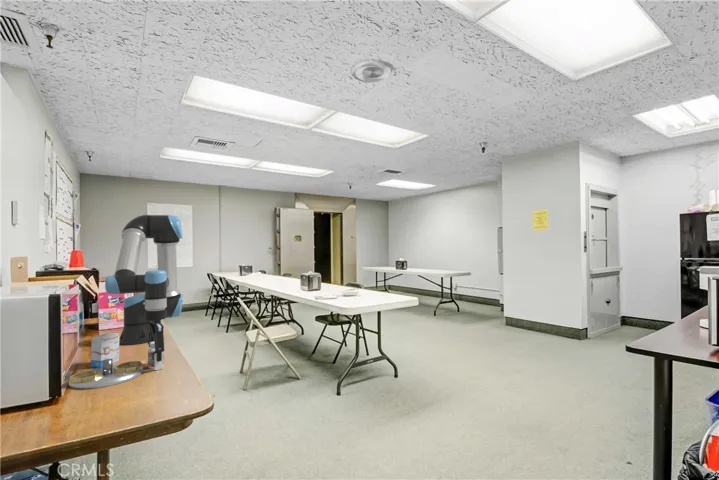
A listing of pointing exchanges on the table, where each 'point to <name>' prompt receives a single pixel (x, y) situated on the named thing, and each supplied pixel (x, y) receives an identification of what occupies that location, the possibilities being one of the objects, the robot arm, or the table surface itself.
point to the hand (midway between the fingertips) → (155, 366)
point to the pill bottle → (152, 356)
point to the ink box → (104, 349)
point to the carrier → (106, 375)
